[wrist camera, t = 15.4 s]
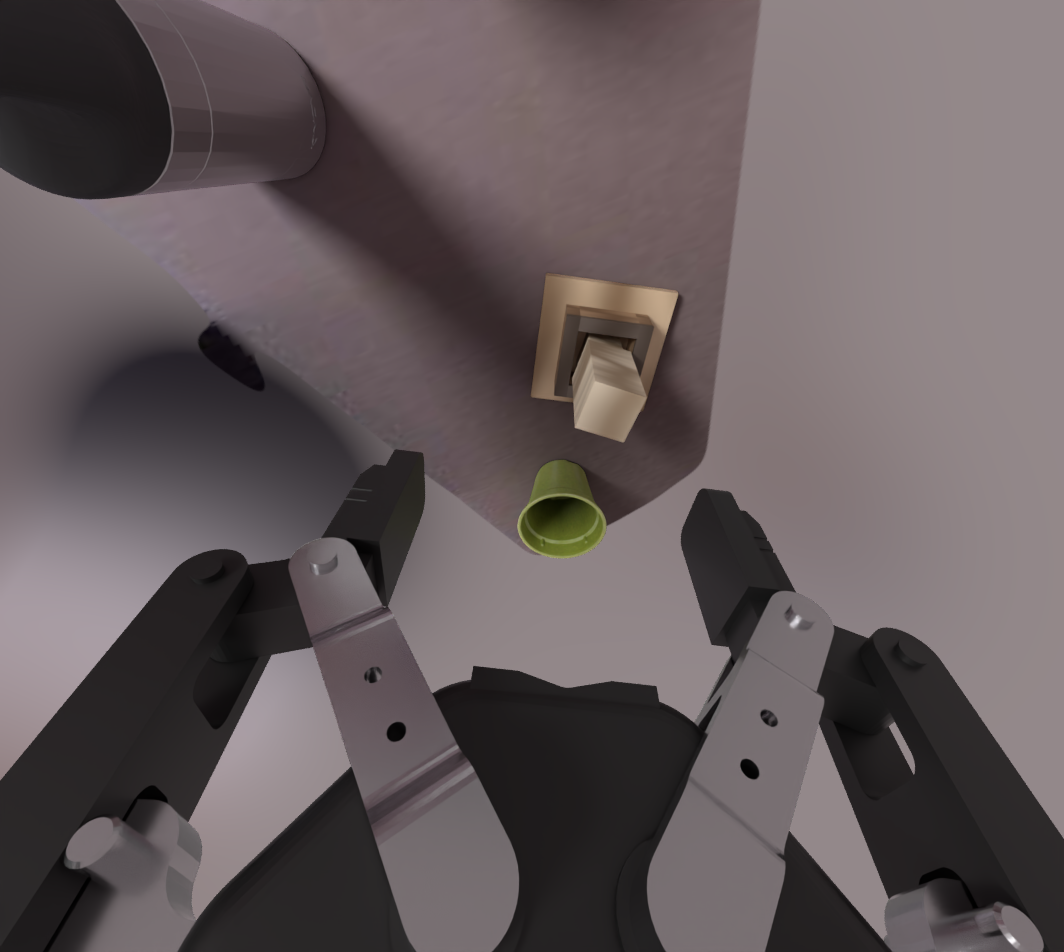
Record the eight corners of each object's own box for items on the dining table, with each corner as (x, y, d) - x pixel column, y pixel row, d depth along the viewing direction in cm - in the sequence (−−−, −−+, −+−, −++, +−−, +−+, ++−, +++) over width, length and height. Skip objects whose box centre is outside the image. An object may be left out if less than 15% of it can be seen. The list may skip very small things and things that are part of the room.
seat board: (531, 392, 47) (528, 412, 44) (546, 272, 40) (544, 285, 36) (641, 407, 48) (648, 428, 44) (676, 290, 40) (687, 304, 37)
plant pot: (611, 494, 55) (619, 544, 48) (543, 517, 58) (541, 568, 51) (582, 435, 50) (586, 482, 43) (509, 464, 53) (501, 511, 46)
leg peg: (571, 361, 44) (574, 427, 33) (586, 323, 42) (594, 381, 31) (608, 373, 44) (623, 442, 34) (625, 336, 42) (646, 397, 32)
